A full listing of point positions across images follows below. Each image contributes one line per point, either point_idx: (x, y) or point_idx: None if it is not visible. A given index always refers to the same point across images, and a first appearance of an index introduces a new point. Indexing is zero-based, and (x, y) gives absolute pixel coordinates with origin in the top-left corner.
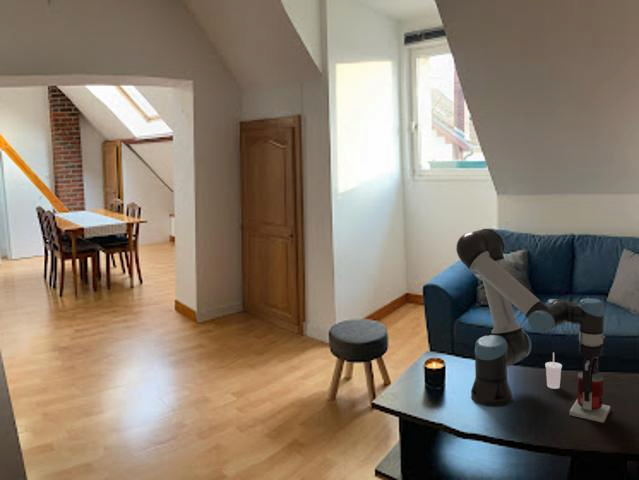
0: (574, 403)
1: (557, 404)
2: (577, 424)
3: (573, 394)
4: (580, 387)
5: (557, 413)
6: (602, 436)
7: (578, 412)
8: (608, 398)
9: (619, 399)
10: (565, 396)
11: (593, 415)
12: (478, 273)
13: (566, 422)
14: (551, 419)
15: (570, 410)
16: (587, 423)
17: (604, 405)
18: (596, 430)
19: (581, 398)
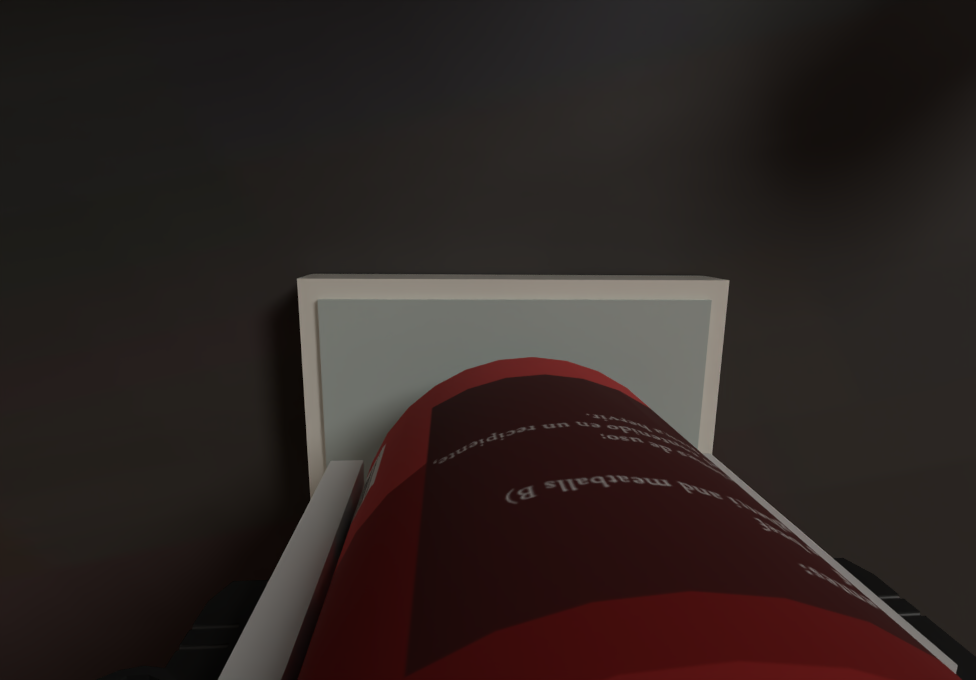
0: (571, 283)
1: (546, 59)
2: (118, 410)
3: (936, 182)
4: (332, 635)
5: (271, 124)
6: (11, 676)
7: (318, 390)
8: (952, 543)
9: (963, 632)
10: (840, 101)
11: None
12: None
13: (85, 288)
14: (41, 93)
15: (322, 285)
16: (215, 495)
17: None
18: (107, 603)
19: (364, 493)
